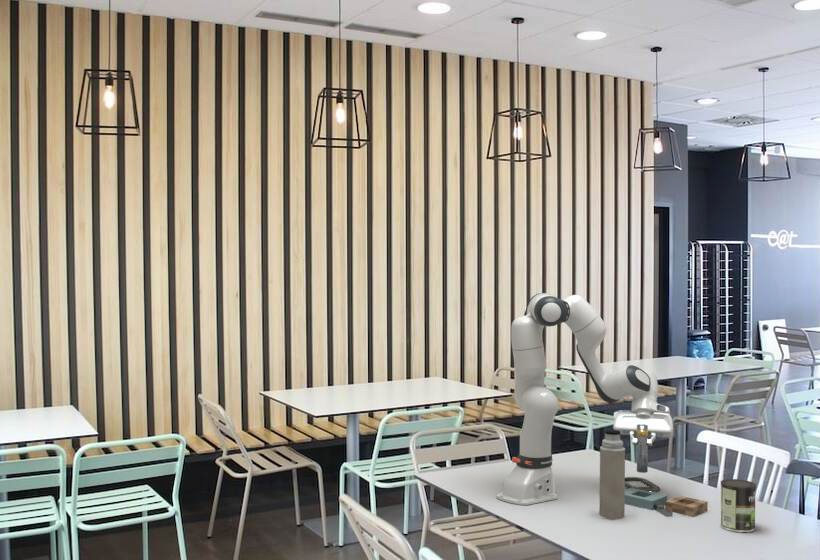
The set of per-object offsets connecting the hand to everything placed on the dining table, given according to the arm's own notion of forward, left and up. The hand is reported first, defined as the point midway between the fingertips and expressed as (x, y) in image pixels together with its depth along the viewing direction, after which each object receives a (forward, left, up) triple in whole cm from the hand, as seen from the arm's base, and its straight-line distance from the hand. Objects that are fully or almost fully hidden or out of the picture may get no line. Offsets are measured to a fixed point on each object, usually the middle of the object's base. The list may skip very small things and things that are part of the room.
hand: (642, 444), depth 292 cm
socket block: (+3, -15, -20) cm, 25 cm away
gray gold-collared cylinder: (+1, 0, -9) cm, 9 cm away
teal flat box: (0, 0, -20) cm, 20 cm away
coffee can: (-2, -35, -20) cm, 40 cm away
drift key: (-5, -11, -20) cm, 23 cm away
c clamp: (+17, +13, -21) cm, 30 cm away
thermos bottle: (-20, -1, -20) cm, 28 cm away
